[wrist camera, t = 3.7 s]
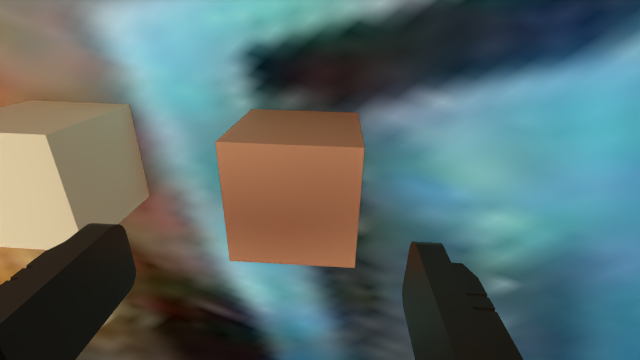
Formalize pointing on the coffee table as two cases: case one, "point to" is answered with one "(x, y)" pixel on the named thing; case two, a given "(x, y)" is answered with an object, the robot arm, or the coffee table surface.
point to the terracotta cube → (292, 187)
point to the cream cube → (66, 170)
